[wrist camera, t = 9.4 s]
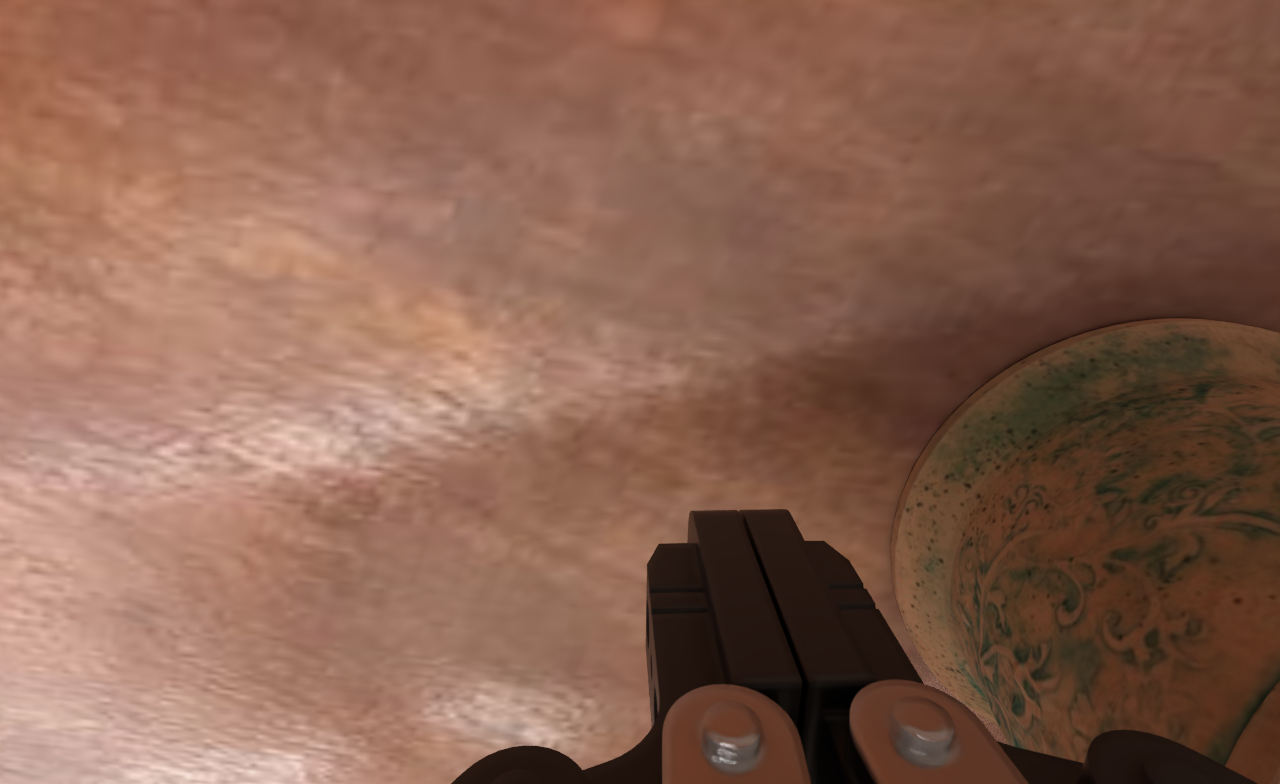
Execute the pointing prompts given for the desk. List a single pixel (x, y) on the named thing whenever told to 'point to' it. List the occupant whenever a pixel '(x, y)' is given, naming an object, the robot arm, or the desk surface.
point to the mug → (1108, 544)
